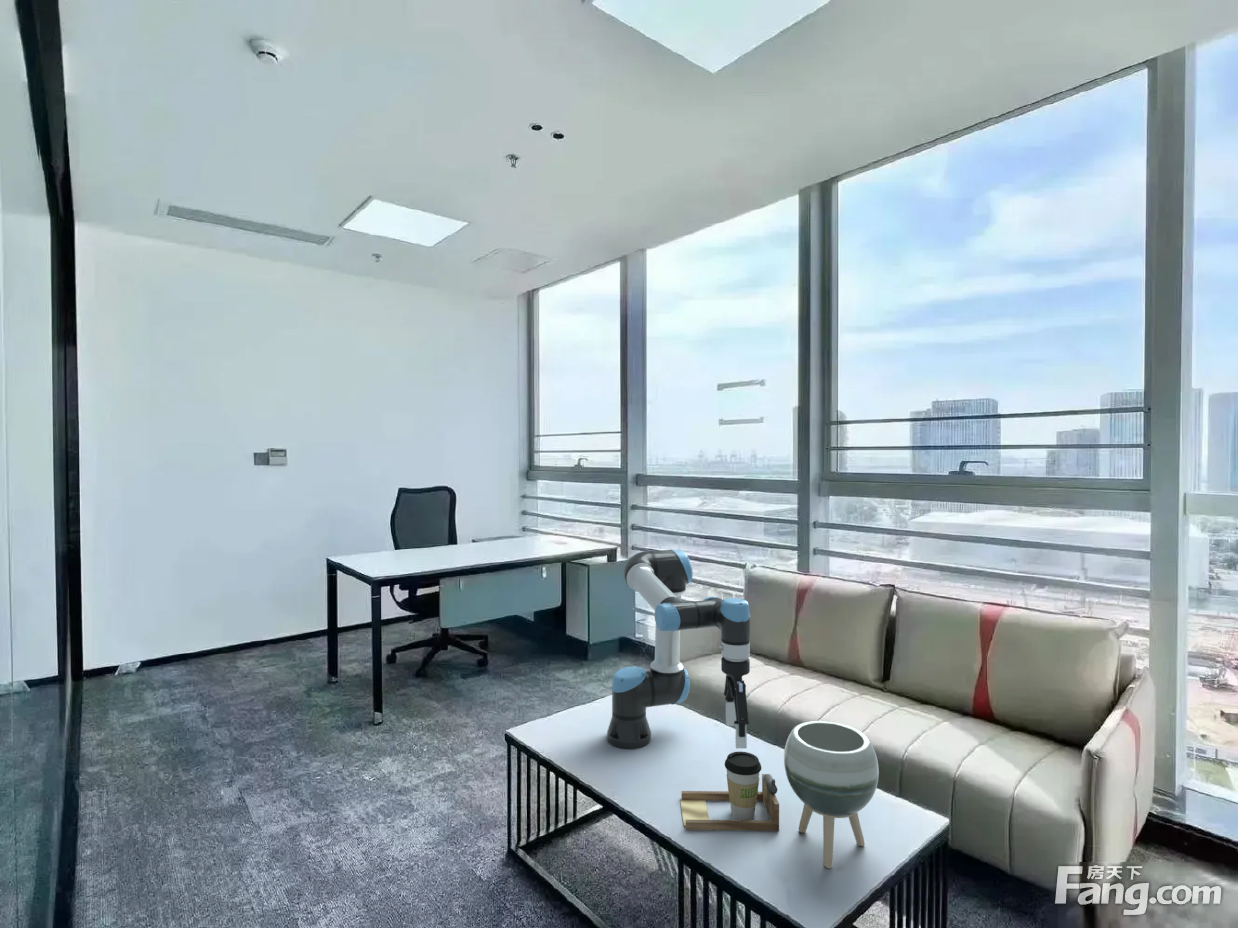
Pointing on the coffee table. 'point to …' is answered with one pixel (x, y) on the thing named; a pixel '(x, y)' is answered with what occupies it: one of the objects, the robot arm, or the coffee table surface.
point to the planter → (831, 775)
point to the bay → (697, 809)
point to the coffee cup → (742, 783)
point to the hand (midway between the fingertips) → (735, 736)
